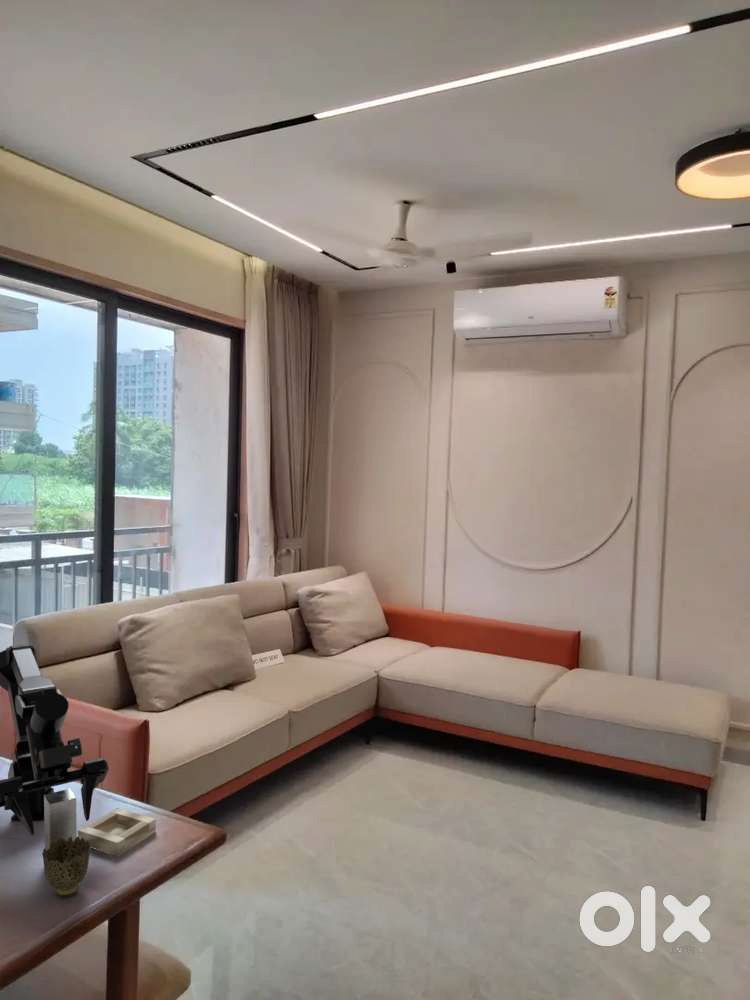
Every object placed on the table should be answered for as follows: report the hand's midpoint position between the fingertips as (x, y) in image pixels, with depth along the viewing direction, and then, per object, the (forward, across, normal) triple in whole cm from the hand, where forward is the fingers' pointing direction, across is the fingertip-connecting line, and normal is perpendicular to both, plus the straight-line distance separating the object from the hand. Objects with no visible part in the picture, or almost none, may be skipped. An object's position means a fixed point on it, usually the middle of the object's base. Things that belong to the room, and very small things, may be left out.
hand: (60, 827), depth 130 cm
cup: (+12, -1, 0) cm, 12 cm away
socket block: (+2, +11, +9) cm, 15 cm away
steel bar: (+5, 0, +6) cm, 8 cm away
